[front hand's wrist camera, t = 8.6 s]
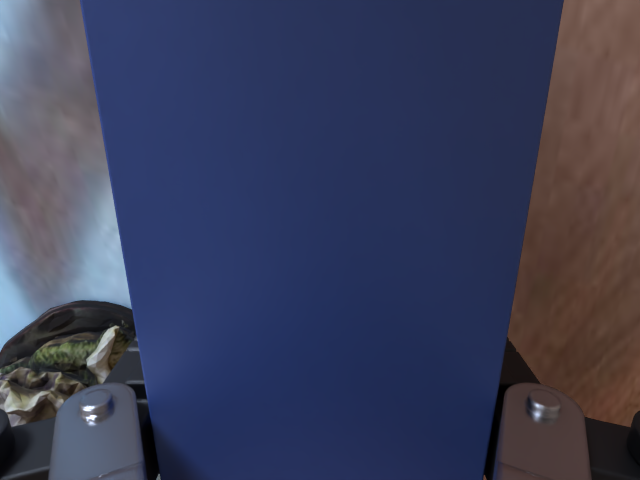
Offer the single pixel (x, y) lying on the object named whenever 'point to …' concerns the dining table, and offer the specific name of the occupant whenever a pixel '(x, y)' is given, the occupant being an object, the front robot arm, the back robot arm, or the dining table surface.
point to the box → (321, 223)
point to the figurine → (61, 357)
